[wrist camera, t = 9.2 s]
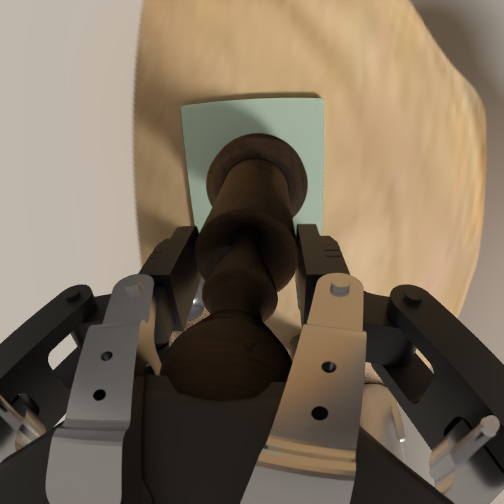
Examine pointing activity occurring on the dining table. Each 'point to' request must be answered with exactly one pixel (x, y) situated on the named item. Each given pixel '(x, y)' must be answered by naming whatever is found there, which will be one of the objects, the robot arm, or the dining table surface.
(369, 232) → the dining table surface
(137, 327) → the robot arm
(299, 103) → the green mat
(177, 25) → the dining table surface
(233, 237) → the wooden pepper mill
